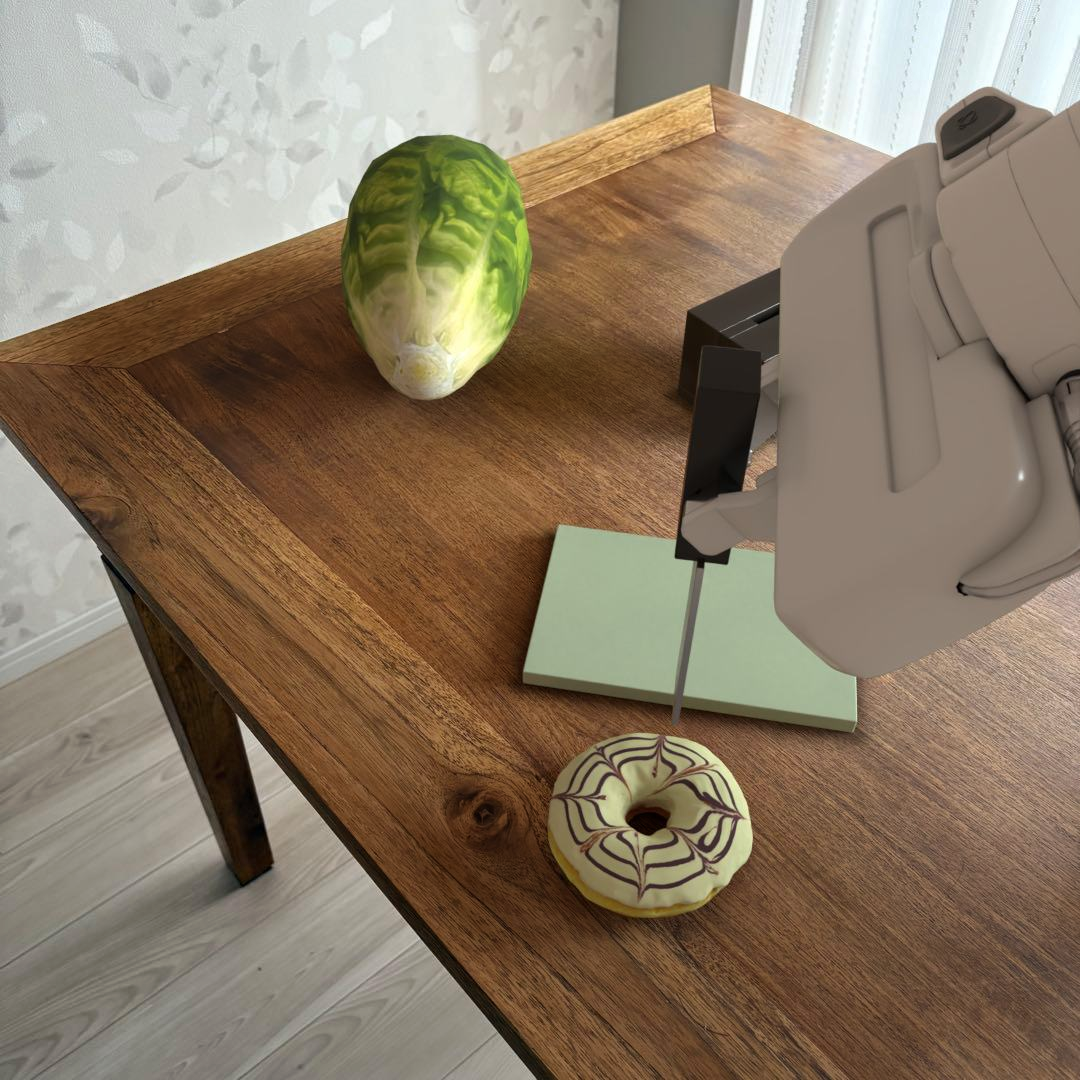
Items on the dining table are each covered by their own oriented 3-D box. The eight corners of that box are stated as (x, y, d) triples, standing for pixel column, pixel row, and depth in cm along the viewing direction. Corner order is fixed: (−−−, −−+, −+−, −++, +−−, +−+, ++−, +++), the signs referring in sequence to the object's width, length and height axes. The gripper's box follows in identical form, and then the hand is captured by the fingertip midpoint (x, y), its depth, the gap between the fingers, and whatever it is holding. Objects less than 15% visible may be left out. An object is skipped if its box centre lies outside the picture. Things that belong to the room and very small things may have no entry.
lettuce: (329, 456, 83) (298, 276, 72) (370, 264, 102) (351, 97, 90) (529, 458, 83) (529, 278, 72) (533, 265, 102) (534, 99, 90)
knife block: (837, 398, 88) (859, 313, 83) (748, 447, 84) (764, 361, 78) (765, 350, 93) (780, 266, 87) (676, 395, 88) (686, 309, 83)
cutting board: (849, 575, 75) (853, 562, 74) (853, 733, 66) (857, 721, 65) (557, 535, 77) (558, 523, 76) (522, 683, 68) (522, 671, 67)
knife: (701, 674, 50) (762, 345, 37) (697, 729, 48) (760, 400, 35) (657, 668, 50) (702, 339, 37) (651, 722, 48) (697, 393, 35)
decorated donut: (784, 859, 60) (797, 823, 57) (631, 973, 56) (636, 940, 53) (660, 728, 66) (665, 690, 63) (512, 822, 62) (511, 785, 59)
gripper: (1206, 614, 27) (739, 779, 35) (1064, 195, 41) (756, 381, 49) (1077, 453, 24) (604, 672, 32) (973, 64, 38) (663, 284, 46)
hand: (696, 493), depth 40 cm, fingers closed on knife, 2 cm apart
